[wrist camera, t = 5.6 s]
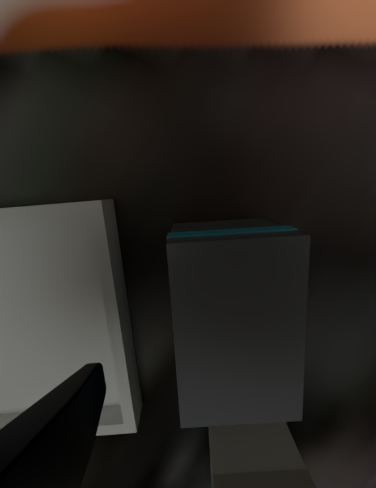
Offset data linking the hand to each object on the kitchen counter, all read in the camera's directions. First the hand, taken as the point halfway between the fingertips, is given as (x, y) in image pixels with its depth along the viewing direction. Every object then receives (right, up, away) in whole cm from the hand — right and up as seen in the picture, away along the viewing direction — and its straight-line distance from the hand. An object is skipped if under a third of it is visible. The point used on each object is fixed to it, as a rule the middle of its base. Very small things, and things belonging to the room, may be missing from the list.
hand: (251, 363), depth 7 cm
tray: (-10, 0, +6) cm, 12 cm away
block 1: (0, +1, +6) cm, 6 cm away
